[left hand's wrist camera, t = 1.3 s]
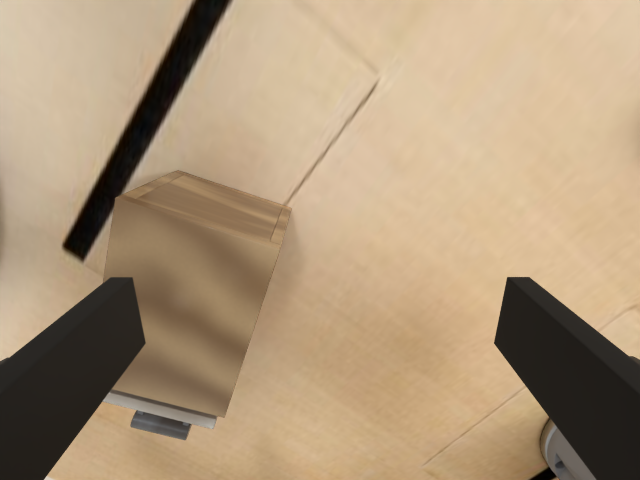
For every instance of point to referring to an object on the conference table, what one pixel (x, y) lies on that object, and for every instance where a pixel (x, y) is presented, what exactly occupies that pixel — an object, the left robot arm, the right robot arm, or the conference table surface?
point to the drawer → (160, 415)
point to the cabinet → (193, 284)
